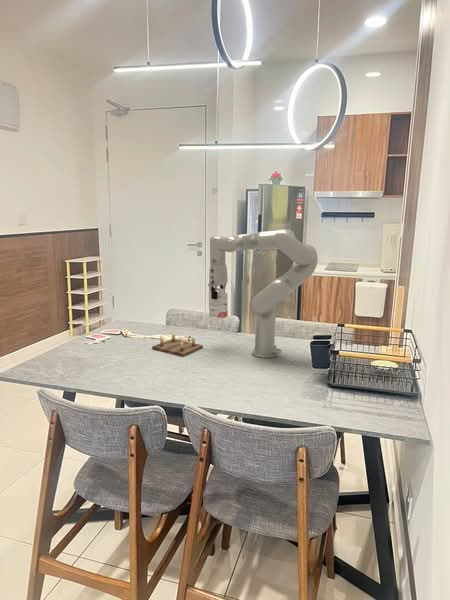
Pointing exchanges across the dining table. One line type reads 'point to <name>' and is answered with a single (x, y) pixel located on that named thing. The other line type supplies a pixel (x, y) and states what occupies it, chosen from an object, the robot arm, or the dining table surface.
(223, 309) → the ink cartridge box
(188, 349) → the walnut plate
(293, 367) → the dining table surface
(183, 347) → the brass pins
